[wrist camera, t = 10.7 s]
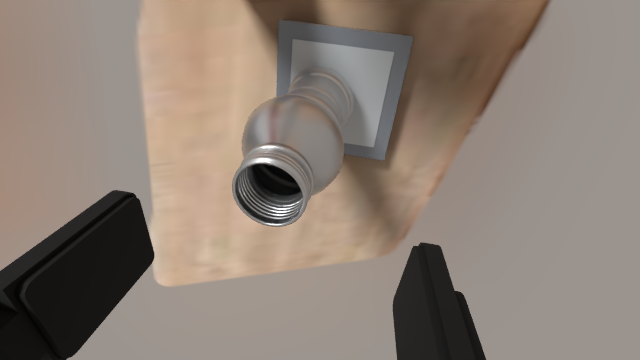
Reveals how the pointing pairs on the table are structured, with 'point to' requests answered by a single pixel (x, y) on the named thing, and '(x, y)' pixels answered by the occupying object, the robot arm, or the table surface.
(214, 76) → the table surface
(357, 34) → the slate pedestal
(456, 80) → the table surface
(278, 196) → the metal water bottle
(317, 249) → the table surface
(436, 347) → the robot arm
